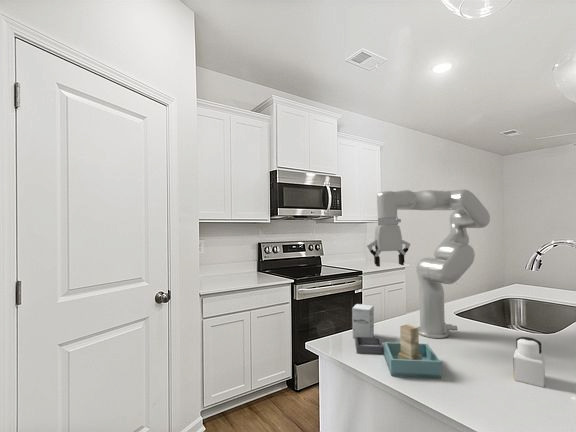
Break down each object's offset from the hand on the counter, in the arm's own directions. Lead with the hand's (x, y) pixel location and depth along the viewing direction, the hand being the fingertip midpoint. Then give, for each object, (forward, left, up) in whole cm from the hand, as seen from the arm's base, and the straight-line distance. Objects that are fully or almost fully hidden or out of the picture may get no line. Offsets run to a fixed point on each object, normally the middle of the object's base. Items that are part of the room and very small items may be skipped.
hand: (389, 265), depth 131 cm
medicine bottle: (-36, +27, -30) cm, 54 cm away
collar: (+9, +8, -30) cm, 33 cm away
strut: (-2, +22, -29) cm, 37 cm away
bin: (-3, +22, -30) cm, 38 cm away
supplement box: (+10, -4, -30) cm, 32 cm away
